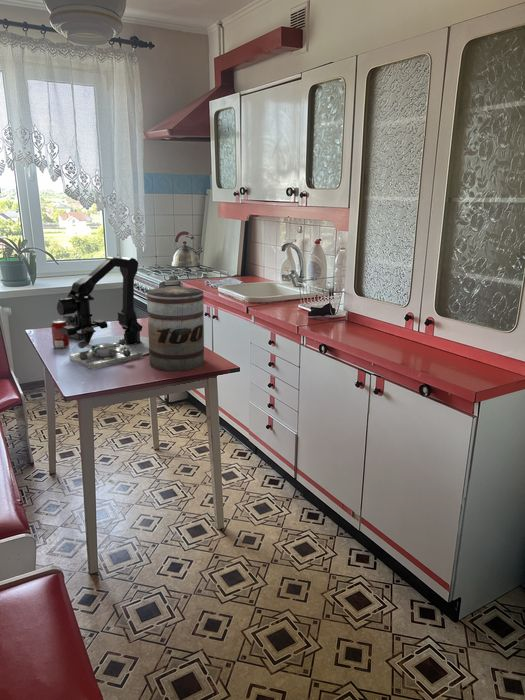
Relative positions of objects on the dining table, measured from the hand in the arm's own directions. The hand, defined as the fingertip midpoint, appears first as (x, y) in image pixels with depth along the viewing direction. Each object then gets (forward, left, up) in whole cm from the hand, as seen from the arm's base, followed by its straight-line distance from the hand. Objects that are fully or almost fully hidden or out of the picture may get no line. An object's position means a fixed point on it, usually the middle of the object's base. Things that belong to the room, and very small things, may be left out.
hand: (86, 346), depth 229 cm
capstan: (-1, +12, -1) cm, 12 cm away
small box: (-9, -26, -3) cm, 28 cm away
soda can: (+4, -16, -3) cm, 17 cm away
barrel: (-20, +37, -3) cm, 42 cm away
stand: (-2, +12, -3) cm, 12 cm away
